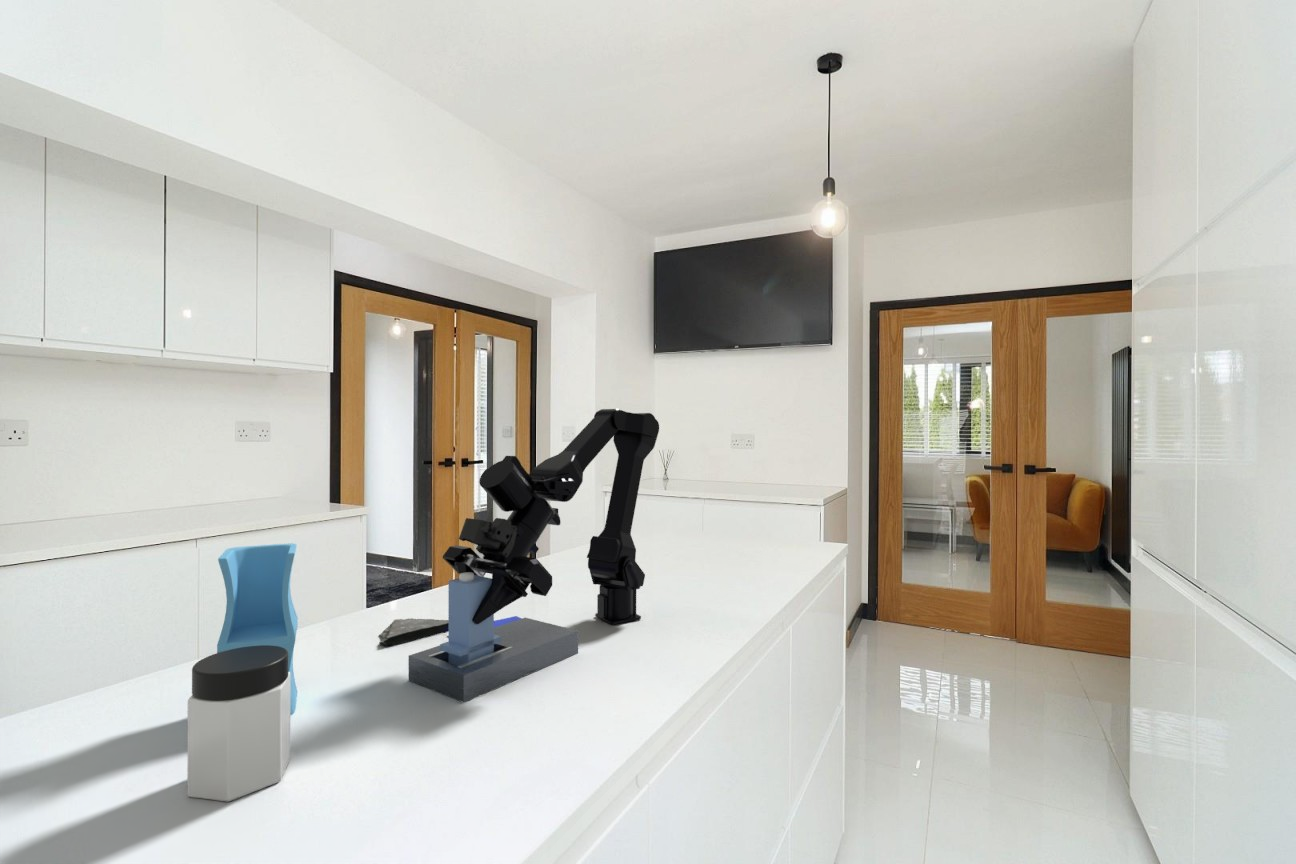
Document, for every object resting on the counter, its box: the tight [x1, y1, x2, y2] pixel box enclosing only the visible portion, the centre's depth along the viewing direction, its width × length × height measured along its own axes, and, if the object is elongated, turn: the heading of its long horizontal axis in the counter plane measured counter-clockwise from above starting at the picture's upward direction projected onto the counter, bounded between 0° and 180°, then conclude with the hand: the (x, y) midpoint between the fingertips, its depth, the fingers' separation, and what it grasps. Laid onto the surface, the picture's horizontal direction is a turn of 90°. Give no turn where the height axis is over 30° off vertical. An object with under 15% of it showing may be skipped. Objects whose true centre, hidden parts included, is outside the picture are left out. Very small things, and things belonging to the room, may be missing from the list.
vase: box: [216, 542, 299, 716], centre depth 77 cm, size 8×8×20 cm
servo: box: [439, 572, 501, 666], centre depth 88 cm, size 7×4×13 cm, turn 145°
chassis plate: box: [408, 617, 579, 703], centre depth 92 cm, size 22×12×4 cm, turn 145°
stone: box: [378, 618, 449, 646], centre depth 108 cm, size 13×10×2 cm
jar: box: [186, 645, 291, 803], centre depth 62 cm, size 9×8×12 cm
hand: (463, 619), depth 87 cm, fingers closed on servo, 4 cm apart
